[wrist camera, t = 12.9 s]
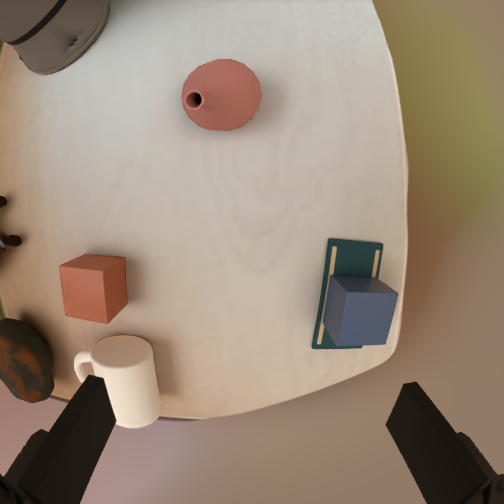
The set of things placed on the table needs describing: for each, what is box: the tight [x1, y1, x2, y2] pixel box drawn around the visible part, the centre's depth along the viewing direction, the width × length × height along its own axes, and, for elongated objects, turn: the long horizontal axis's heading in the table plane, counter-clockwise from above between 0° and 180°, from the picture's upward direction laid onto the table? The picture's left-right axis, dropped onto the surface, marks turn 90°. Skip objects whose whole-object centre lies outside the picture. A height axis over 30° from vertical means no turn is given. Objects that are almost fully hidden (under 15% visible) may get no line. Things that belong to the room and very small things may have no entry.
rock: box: [0, 318, 54, 403], centre depth 29 cm, size 14×11×10 cm
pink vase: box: [181, 59, 261, 131], centre depth 23 cm, size 8×8×12 cm
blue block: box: [322, 275, 398, 346], centre depth 30 cm, size 6×6×6 cm
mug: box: [74, 335, 162, 428], centre depth 31 cm, size 12×10×8 cm
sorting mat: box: [312, 238, 383, 349], centre depth 33 cm, size 14×7×1 cm, turn 176°
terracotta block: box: [59, 254, 127, 324], centre depth 29 cm, size 6×6×6 cm
